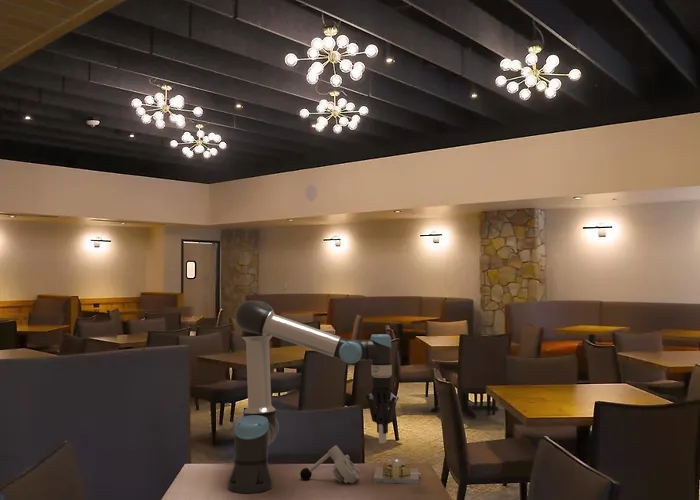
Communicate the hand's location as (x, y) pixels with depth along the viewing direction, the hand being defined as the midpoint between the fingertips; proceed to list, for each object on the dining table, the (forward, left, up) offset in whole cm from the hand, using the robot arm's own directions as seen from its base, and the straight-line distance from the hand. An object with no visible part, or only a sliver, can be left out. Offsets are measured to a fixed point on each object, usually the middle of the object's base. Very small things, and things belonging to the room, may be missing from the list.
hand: (382, 442), depth 221 cm
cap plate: (+5, +5, -13) cm, 15 cm away
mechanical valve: (-19, -3, -14) cm, 24 cm away
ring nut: (+5, +3, -12) cm, 13 cm away
